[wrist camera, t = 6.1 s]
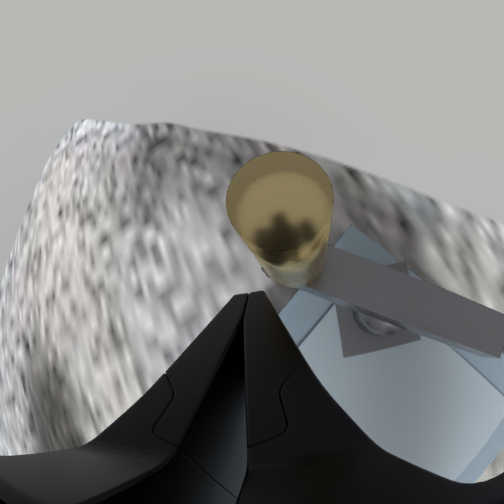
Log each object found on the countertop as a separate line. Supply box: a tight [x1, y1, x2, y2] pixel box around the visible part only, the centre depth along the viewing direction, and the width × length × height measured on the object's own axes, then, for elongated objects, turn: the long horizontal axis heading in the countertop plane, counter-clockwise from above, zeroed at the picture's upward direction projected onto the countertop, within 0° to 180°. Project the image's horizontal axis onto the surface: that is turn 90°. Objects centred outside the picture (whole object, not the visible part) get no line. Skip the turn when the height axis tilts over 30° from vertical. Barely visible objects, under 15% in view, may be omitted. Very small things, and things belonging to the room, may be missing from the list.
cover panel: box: [278, 224, 504, 483], centre depth 14 cm, size 16×18×2 cm
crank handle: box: [226, 151, 504, 358], centre depth 10 cm, size 3×11×10 cm, turn 66°
